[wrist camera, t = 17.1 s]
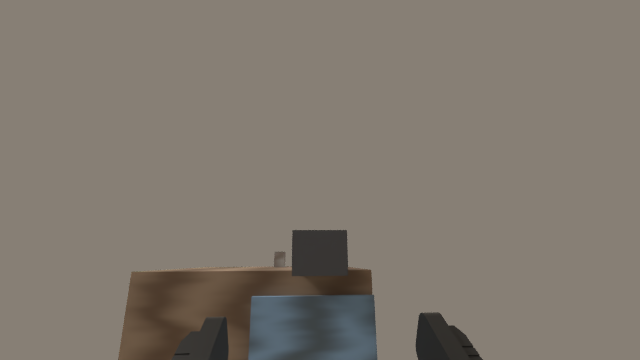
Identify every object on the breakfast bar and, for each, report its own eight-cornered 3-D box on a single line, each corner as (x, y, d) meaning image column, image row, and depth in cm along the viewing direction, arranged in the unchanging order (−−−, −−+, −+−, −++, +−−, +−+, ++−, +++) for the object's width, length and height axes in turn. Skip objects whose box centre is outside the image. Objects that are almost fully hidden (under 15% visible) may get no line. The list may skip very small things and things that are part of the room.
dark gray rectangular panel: (287, 276, 16) (288, 230, 16) (297, 266, 43) (297, 249, 43) (351, 275, 16) (350, 230, 17) (321, 266, 43) (321, 249, 44)
